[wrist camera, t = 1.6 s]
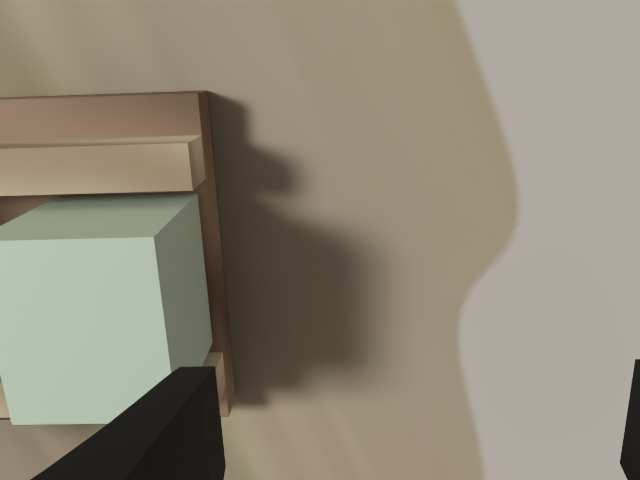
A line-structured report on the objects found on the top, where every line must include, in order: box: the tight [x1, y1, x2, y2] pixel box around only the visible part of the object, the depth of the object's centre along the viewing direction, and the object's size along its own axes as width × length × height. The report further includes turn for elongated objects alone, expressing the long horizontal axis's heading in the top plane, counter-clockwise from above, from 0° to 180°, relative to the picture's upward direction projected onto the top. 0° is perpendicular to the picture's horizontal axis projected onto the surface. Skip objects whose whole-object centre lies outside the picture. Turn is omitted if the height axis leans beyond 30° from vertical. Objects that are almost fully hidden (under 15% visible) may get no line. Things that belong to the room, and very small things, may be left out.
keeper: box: [0, 194, 213, 425], centre depth 15 cm, size 5×4×4 cm
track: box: [0, 91, 235, 420], centre depth 16 cm, size 10×10×5 cm
